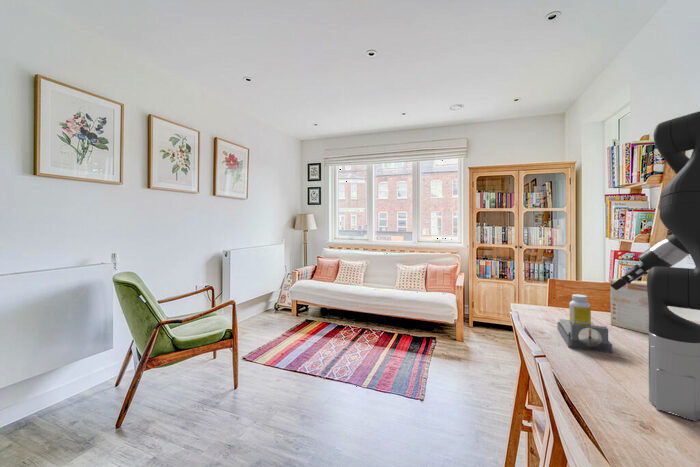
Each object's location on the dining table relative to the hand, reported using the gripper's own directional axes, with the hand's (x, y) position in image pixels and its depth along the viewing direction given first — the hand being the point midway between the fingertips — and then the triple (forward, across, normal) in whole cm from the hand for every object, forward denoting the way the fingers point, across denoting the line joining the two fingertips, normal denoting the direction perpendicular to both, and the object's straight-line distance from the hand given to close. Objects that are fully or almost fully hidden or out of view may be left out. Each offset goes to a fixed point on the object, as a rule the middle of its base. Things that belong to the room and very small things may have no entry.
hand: (615, 286), depth 105 cm
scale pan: (+20, +1, +6) cm, 21 cm away
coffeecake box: (+13, -26, +17) cm, 34 cm away
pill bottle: (+19, 0, +5) cm, 20 cm away
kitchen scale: (+21, +3, +8) cm, 23 cm away
